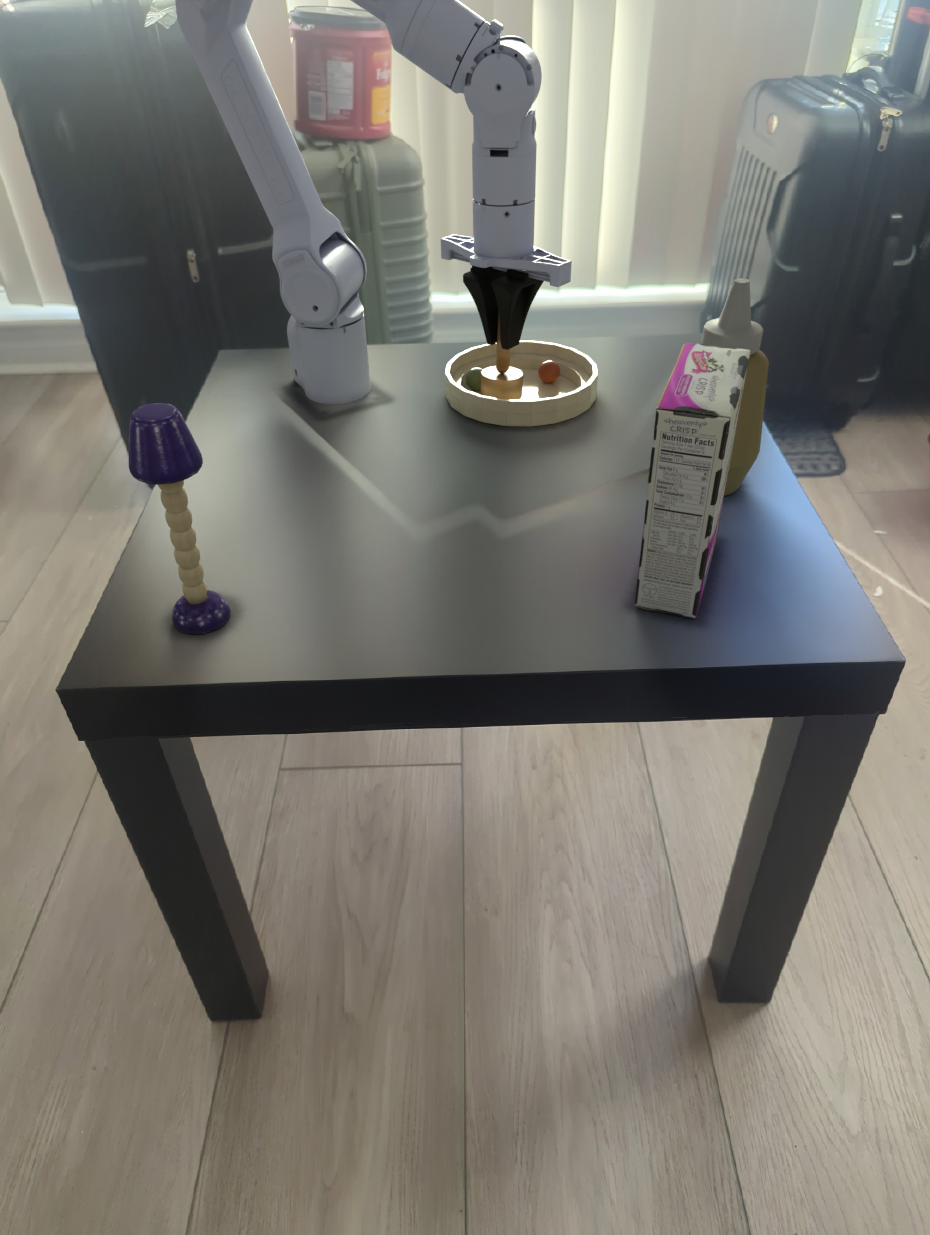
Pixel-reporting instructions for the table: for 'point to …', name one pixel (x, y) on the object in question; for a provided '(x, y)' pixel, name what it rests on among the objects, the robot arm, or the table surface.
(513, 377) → the wooden knob stamp
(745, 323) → the squeeze bottle
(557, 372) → the orange bead
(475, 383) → the green bead
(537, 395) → the bowl
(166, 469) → the toy lamp
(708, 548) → the candy bar box
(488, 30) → the robot arm
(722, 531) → the table surface
